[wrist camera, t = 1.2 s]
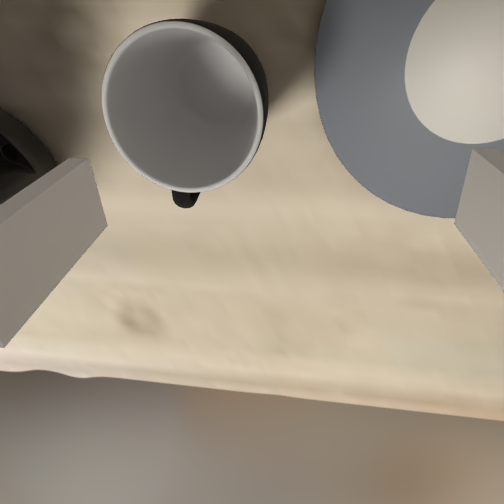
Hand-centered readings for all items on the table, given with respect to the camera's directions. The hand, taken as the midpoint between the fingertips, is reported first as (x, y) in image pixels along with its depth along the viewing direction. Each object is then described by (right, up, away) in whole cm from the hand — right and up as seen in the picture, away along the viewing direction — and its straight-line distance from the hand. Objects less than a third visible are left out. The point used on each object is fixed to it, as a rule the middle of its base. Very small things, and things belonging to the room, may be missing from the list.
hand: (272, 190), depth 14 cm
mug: (-4, +9, +17) cm, 19 cm away
